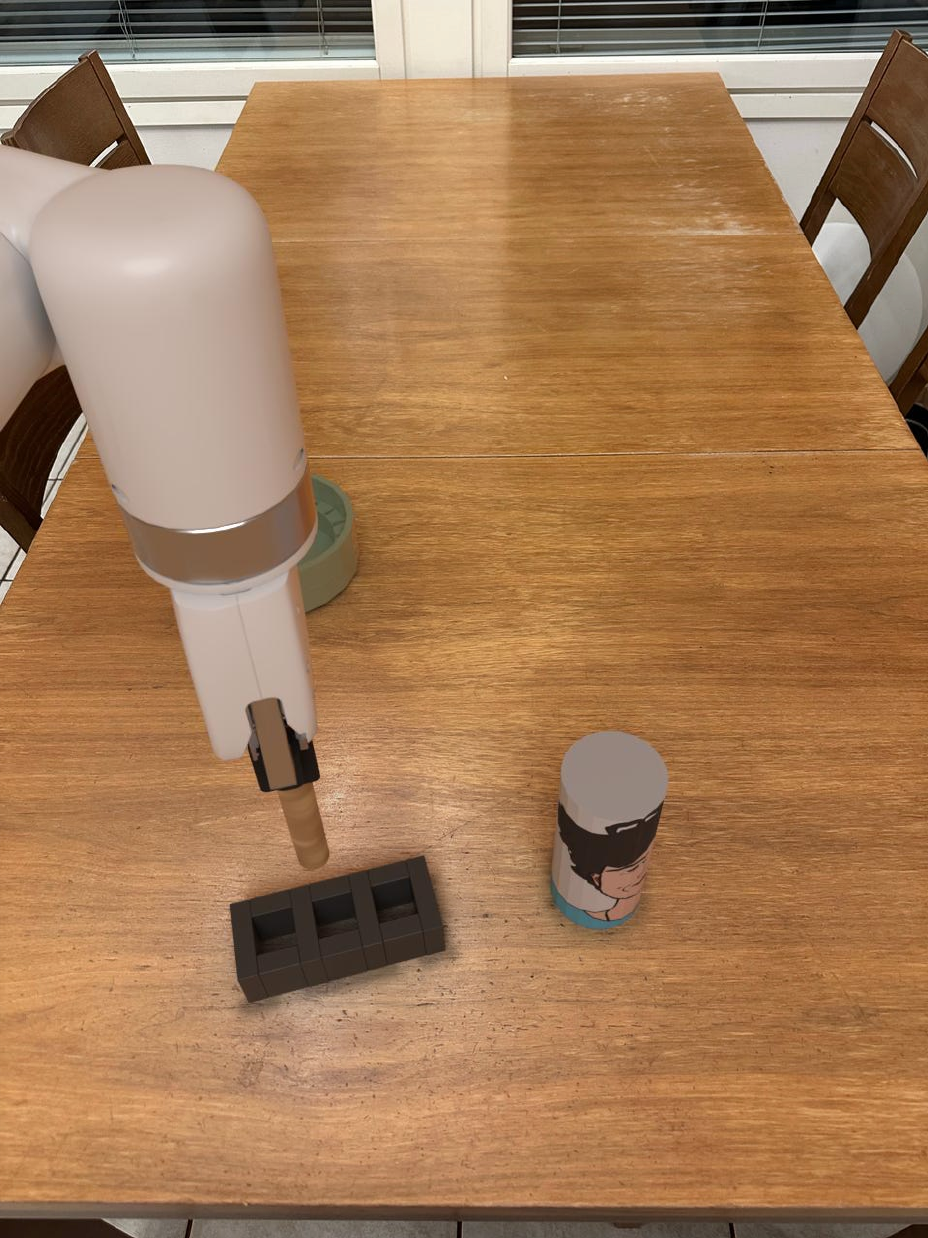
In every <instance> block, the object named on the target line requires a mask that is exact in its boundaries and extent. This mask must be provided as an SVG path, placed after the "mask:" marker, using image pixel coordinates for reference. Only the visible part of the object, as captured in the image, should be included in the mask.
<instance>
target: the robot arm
mask: <svg viewBox="0 0 928 1238" xmlns="http://www.w3.org/2000/svg"><path fill="white" fill-rule="evenodd" d="M276 260H277V259H276V254H275V248H274V243H273V239H272V235H271V230H270V226H269V223H268V221H267V219H266V216H265V213H264V211H263V210H262V208H261V206H260V205H259V203H258V202H257V200H256V199H255V198H254V197H253V195H251V193H250V191H248V190H247V189H246V188H245V187H244V186H243V185H241V184H240V183H238V182H237V181H236V180H234V179H231V178H230V177H228V176H226V175H224V174H222V173H219V172H218V171H214V170H211V169H207V168H204V167H198V166H194V165H187V164H186V165H185V164H173V163H172V164H171V163H170V164H168V163H167V164H166V163H163V164H161V163H159V164H158V163H156V164H139V165H132V166H126V167H120V168H114V169H105V168H101V167H95V166H89V165H86V164H81V163H77V162H73V161H69V160H65V159H60V158H57V157H53V156H48V155H45V154H41V153H37V152H33V151H30V150H27V149H26V150H25V149H22V148H18V147H14V146H11V145H10V146H9V145H6V144H1V143H0V432H2V430H3V429H4V428H5V426H6V425H7V423H8V422H9V420H10V419H11V417H12V416H13V415H14V414H15V412H16V410H17V408H18V407H19V406H20V404H21V403H22V401H24V398H25V397H26V396H27V394H28V393H29V392H30V390H31V388H32V387H33V386H34V385H35V383H36V382H38V380H40V379H42V378H43V377H45V376H46V375H48V374H49V373H51V372H53V371H54V370H56V369H58V368H59V367H62V366H65V367H66V370H67V372H68V375H69V378H70V380H71V381H70V382H71V383H72V386H73V389H74V392H75V394H76V397H77V399H78V402H79V405H80V408H81V411H82V414H83V416H84V419H85V422H86V424H87V427H88V431H89V433H90V435H91V439H92V441H93V443H94V447H95V449H96V451H97V452H96V453H97V455H98V457H99V460H100V463H101V465H102V468H103V471H104V473H105V476H106V479H107V482H108V485H109V487H110V490H111V492H112V494H113V497H114V500H115V503H116V505H117V509H118V512H119V514H120V516H121V520H122V522H123V525H124V527H125V530H126V533H127V536H128V539H129V541H130V544H131V546H132V550H133V554H134V556H135V558H136V561H137V563H138V565H139V567H140V568H141V569H142V570H143V572H144V573H145V574H146V575H147V576H148V577H150V578H151V579H153V580H154V581H155V582H156V583H158V584H160V585H163V586H164V587H166V588H168V589H169V594H170V598H171V605H172V608H173V612H174V617H175V621H176V624H177V629H178V633H179V637H180V640H181V641H180V642H181V645H182V648H183V652H184V656H185V659H186V663H187V667H188V670H189V673H190V677H191V681H192V684H193V687H194V690H195V694H196V697H197V700H198V704H199V707H200V711H201V714H202V717H203V721H204V724H205V728H206V731H207V735H208V738H209V742H210V746H211V749H212V753H213V754H214V756H216V757H217V758H218V759H220V760H221V761H223V762H229V761H234V760H241V759H242V758H243V757H244V754H245V752H246V750H247V752H248V755H249V758H250V761H251V765H252V767H253V771H254V775H255V779H256V780H257V784H258V787H259V790H260V791H261V792H262V793H270V792H277V790H279V791H288V790H292V789H296V788H299V787H301V786H302V785H303V784H307V783H311V782H312V783H315V782H318V781H319V780H320V779H321V773H320V767H319V763H318V759H317V758H318V757H317V754H316V749H315V744H314V738H315V736H316V735H317V733H318V731H319V726H318V715H317V714H318V713H317V704H316V694H315V693H316V692H315V682H314V673H313V671H314V670H313V664H312V655H311V647H310V637H309V630H308V623H307V615H306V613H305V610H304V604H303V598H302V592H301V586H300V580H299V574H298V568H297V563H298V562H299V561H300V560H301V559H302V558H303V557H304V556H305V555H306V553H307V552H308V550H309V549H310V547H311V546H312V544H313V542H314V539H315V536H316V534H317V529H318V516H317V510H316V505H315V498H314V492H313V486H312V480H311V474H310V473H311V468H310V462H309V456H308V451H307V445H306V440H305V439H306V438H305V433H304V427H303V426H304V425H303V420H302V415H301V407H300V404H299V397H298V390H297V383H296V376H295V370H294V364H293V358H292V351H291V346H290V345H291V344H290V340H289V333H288V326H287V322H286V316H285V310H284V309H285V307H284V303H283V295H282V291H281V290H282V289H281V284H280V278H279V272H278V265H277V261H276ZM285 725H289V726H290V727H286V728H285Z"/></svg>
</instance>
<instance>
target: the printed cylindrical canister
mask: <svg viewBox="0 0 928 1238" xmlns="http://www.w3.org/2000/svg"><path fill="white" fill-rule="evenodd" d="M667 768H668V767H667V764H666V763H665V762H664V760H663V758H662V756H661V754H660V753H659V752H658V751H657V750H656V749H655V748H654V747H653V746H652V745H651V744H650V743H648V742H647V741H645V740H644V739H642V738H640V737H638V736H636V735H634V734H632V733H627V732H624V731H620V730H619V731H618V730H600V731H597V732H594V733H589V734H586V735H585V736H583V737H582V738H580V739H578V740H576V741H575V742H574V743H572V745H571V746H570V748H569V749H568V750H567V751H566V752H565V754H564V756H563V759H562V763H561V765H560V774H559V785H558V796H557V805H556V816H555V826H554V837H553V847H552V848H553V850H552V858H551V869H550V881H549V882H550V894H551V896H552V899H553V901H554V903H555V906H556V907H557V909H558V910H559V911H560V912H561V913H562V915H563V916H564V917H565V918H567V919H568V920H570V921H572V923H574V924H576V925H577V926H581V927H583V928H587V929H590V930H608V929H611V928H614V927H617V926H620V925H622V924H624V923H625V922H626V921H627V920H628V919H630V918H631V917H632V916H633V914H634V912H635V911H636V910H637V908H638V907H639V903H640V899H641V896H642V893H643V887H644V884H645V879H646V875H647V871H648V867H649V863H650V860H651V856H652V853H653V848H654V843H655V840H656V835H657V831H658V828H659V823H660V820H661V815H662V811H663V807H664V803H665V799H666V795H667V791H668V787H669V783H670V780H669V774H668V769H667Z"/></svg>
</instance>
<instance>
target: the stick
mask: <svg viewBox="0 0 928 1238" xmlns="http://www.w3.org/2000/svg"><path fill="white" fill-rule="evenodd" d="M286 727H290V726H289V725H285V728H286ZM276 792H277V796H278V799H279V802H280V805H281V808H282V812H283V816H284V819H285V822H286V825H287V828H288V832H289V835H290V839H291V841H292V842H291V843H292V845H293V847H294V848H293V849H294V852H295V855H296V858H297V861H298V863H299V865H300V866H301V867H302V868H304V869H306V870H309V871H314V870H315V871H316V870H318V869H321V868H323V867H324V866H325V865H326V864H327V862H329V858H330V848H329V844H328V841H327V836H326V832H325V828H324V824H323V823H324V822H323V820H322V816H321V811H320V808H319V804H318V800H317V796H316V792H315V787H314V782H311V783H307V784H303V785H302V786H301V787H299V788H296V789H292V790H288V791H279V790H276Z"/></svg>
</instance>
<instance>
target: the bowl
mask: <svg viewBox="0 0 928 1238" xmlns="http://www.w3.org/2000/svg"><path fill="white" fill-rule="evenodd" d="M310 474H311V480H312V486H313V492H314V498H315V505H316V510H317V516H318V529H317V534H316V536H315V539H314V542H313V544H312V546H311V547H310V549H309V550H308V552H307V553H306V555H305V556H304V557H303V558H302V559H301V560H300V561H299V562H298V563H297V568H298V574H299V580H300V586H301V592H302V598H303V604H304V610H305V614H306V613H308V612H310V611H312V610H315V609H317V608H319V607H321V606H324V605H326V604H327V603H329V602H330V601H331V600H333V599H334V598H335V597H336V596H338V595H339V594H340V593H342V592H343V591H344V590H345V589H346V588H347V586H348V585H349V583H350V582H351V580H353V578H354V576H355V574H356V573H357V571H358V565H359V561H360V556H361V553H360V546H359V539H358V531H357V524H356V518H355V512H354V508H353V505H352V502H351V499H350V496H348V495H347V493H346V492H345V491H344V490H343V489H342V487H340V485H339V484H337V483H336V482H334V481H332V480H330V479H328V478H327V477H325V476H322V475H320V474H317V473H312V472H310Z"/></svg>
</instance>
